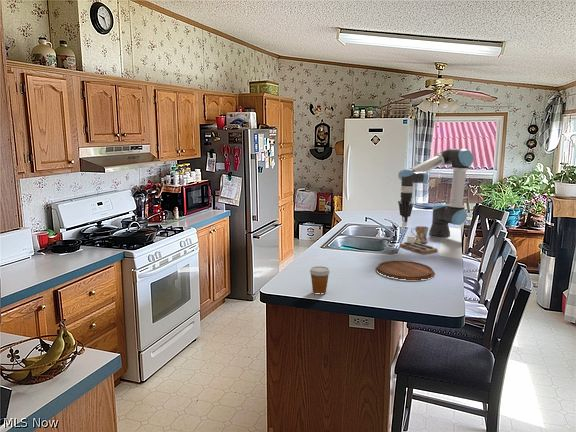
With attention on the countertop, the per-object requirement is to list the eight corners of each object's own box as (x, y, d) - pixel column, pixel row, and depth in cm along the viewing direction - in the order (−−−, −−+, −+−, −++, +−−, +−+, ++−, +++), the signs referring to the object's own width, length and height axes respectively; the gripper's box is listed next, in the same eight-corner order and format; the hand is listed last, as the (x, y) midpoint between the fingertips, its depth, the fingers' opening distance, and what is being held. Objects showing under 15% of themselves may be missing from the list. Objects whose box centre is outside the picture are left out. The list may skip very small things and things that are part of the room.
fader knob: (406, 243, 309) (407, 235, 308) (411, 242, 310) (411, 235, 309) (410, 244, 306) (410, 236, 305) (414, 243, 308) (414, 236, 307)
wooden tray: (399, 246, 309) (399, 241, 309) (412, 244, 315) (413, 239, 314) (423, 254, 290) (424, 249, 290) (437, 251, 296) (437, 247, 295)
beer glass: (308, 289, 225) (308, 266, 223) (327, 289, 226) (327, 265, 223) (310, 296, 215) (311, 272, 213) (330, 295, 216) (331, 271, 214)
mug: (429, 241, 323) (430, 227, 321) (426, 244, 315) (427, 229, 313) (412, 239, 329) (413, 225, 327) (408, 242, 321) (409, 227, 319)
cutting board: (402, 285, 233) (402, 280, 232) (364, 268, 260) (364, 264, 260) (447, 276, 247) (448, 272, 247) (407, 261, 275) (407, 257, 274)
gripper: (395, 191, 311) (393, 225, 315) (409, 193, 300) (407, 228, 304) (403, 190, 315) (401, 224, 319) (417, 193, 304) (415, 227, 308)
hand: (404, 226), depth 312 cm, fingers closed
